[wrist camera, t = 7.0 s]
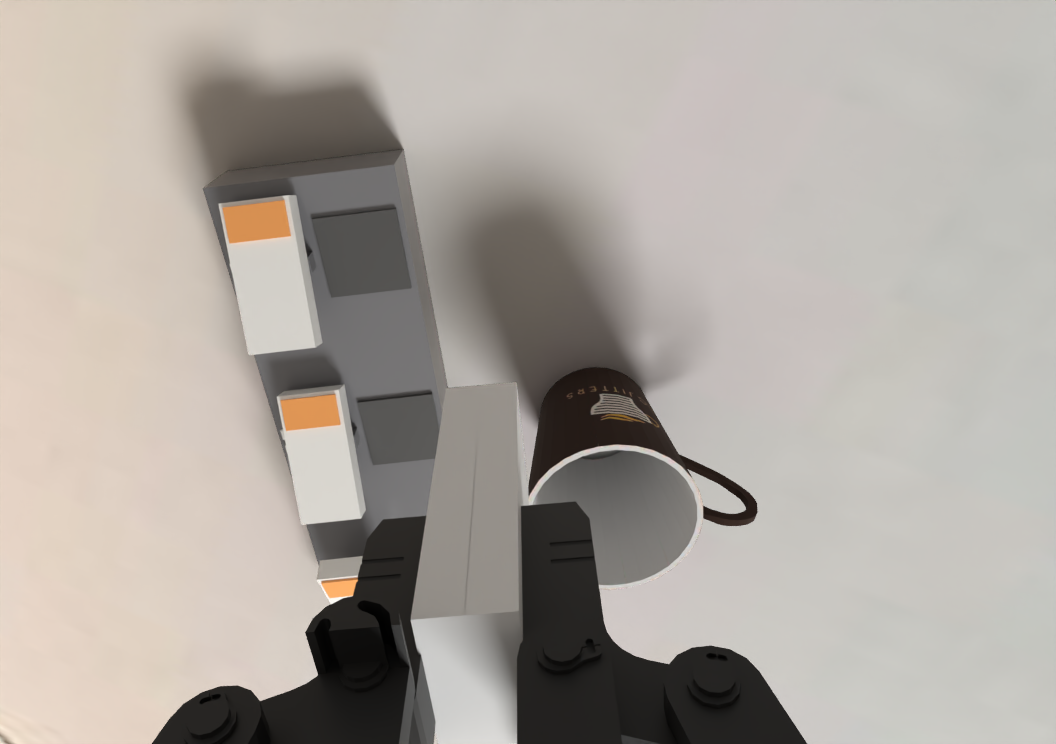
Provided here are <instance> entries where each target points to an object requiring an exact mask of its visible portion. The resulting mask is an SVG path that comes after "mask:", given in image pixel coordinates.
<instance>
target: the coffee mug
mask: <svg viewBox="0 0 1056 744" xmlns="http://www.w3.org/2000/svg"><path fill="white" fill-rule="evenodd" d="M687 469H689V470H691V471H693V472H695V473H697V474H700V475H702V476H704V477H706V478H708V479H710V480H712V481H714V482H716V483H718V484H720V485H721V486H723V487H724V488H726V489H727V490H728V491H730V492H731V493H733V494H734V495H736V496H737V497H738V498H739V499H740V500H741V501H742V502H743V503H744V505H745V507H746V510H745V511H744V512H741V513H738V514H726V513H721V512H718V511H715V510H711V509H709V508H707V507H705V506H703V503H702V499H701V495H700V491H699V489H698V487H697V486H696V484H695V482H694V480H693V478H692V477H691V475H690V473H689V471H688V470H687ZM528 495H529V505H538V504H550V503H562V502H574V501H576V502H577V504H578V505H579V506H580V507H581V509H582V510H583V511H584V512H585V514H586V515H587V516H588V517H589V519H590V526H591V533H592V541H593V548H594V555H595V562H596V569H597V577H598V584H599V589H604V590H613V589H624V588H630V587H634V586H638V585H642V584H645V583H647V582H649V581H652V580H654V579H657V578H659V577H660V576H662V575H664V574H665V573H667V572H669V571H670V570H672V569H673V568H674V567H675V566H676V565H678V564H679V563H680V562H681V561H682V560H683V559H684V558H685V557H686V556H687V554H688V553H689V552H690V550H691V549H692V548H693V547H694V544H695V542H696V540H697V538H698V536H699V534H700V531H701V527H702V523H703V518H704V519H706V520H709V521H712V522H714V523H717V524H720V525H725V526H741V525H746V524H749V523H751V522H753V521H754V519H755V517H756V514H757V503H756V501H755V499H754V498H753V497H752V495H751V494H750V493H749V492H747V491H746V490H745V489H743V488H742V487H741V486H739V485H738V484H736V483H735V482H733V481H731V480H730V479H728V478H726V477H725V476H723V475H721V474H720V473H718V472H716V471H714V470H712V469H710V468H707V467H705V466H703V465H701V464H699V463H697V462H695V461H693V460H690V459H688V458H686V457H684V456H681V455H679V454H678V452H677V451H676V449H675V447H674V446H673V444H672V442H671V440H670V439H669V437H668V435H667V433H666V432H665V430H664V428H663V427H662V425H661V423H660V421H659V420H658V418H657V416H656V415H655V413H654V411H653V409H652V408H651V406H650V404H649V402H648V401H647V399H646V397H645V396H644V394H643V392H642V390H641V389H640V387H639V386H638V385H637V384H636V383H635V382H634V381H633V380H632V379H630V378H629V377H628V376H626V375H624V374H622V373H620V372H618V371H615V370H611V369H607V368H586V369H582V370H578V371H575V372H573V373H571V374H568V375H566V376H565V377H563V378H562V379H560V380H559V381H558V382H556V383H555V385H554V386H553V387H552V388H551V389H550V390H549V392H548V393H547V395H546V396H545V398H544V401H543V404H542V407H541V412H540V418H539V424H538V431H537V437H536V443H535V449H534V455H533V461H532V467H531V474H530V480H529V486H528Z"/></svg>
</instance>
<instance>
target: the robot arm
mask: <svg viewBox="0 0 1056 744" xmlns="http://www.w3.org/2000/svg"><path fill="white" fill-rule="evenodd" d="M357 578H358V582H356V585H355V589H354V593H353V596H351V597H347V598H343V599H341V600H339V601H337V602H335V603H333V604H331V605H329V606H327V607H325V608H324V609H323V610H322V611H321V612H320V613H319V614H318V615H317V616H315V617H314V618H313V620H312V621H311V623H310V625H309V627H308V629H307V631H306V632H305V633H306V636H307V640H308V643H309V646H310V649H311V653H312V656H313V659H314V662H315V666H316V669H317V672H318V676H317V677H316V678H314V679H313V680H311V681H310V682H308V683H307V684H305V685H302V686H300V687H298V688H296V689H293V690H291V691H288V692H285V693H283V694H280V695H277V696H274V697H271V698H268V699H265V700H263V701H259V699H258V698H257V697H256V696H255V695H254V693H253V692H252V691H251V690H248V689H245V688H243V687H240V686H220V687H217V688H214V689H211V690H208V691H205V692H202V693H200V694H199V695H197V696H195V697H194V698H192V699H191V700H189V701H188V702H186V703H185V704H183V705H182V706H181V707H180V708H179V709H178V710H177V712H176V713H175V714H174V715H173V716H172V717H171V718H170V719H169V720H168V722H167V723H166V725H165V726H164V727H163V729H162V730H161V732H160V733H159V734H158V736H157V737H156V739H155V740H154V741H153V743H152V744H433V743H434V733H435V734H436V739H437V743H438V744H807V743H806V741H805V740H804V738H803V737H802V735H801V734H800V732H799V731H798V729H797V728H796V726H795V725H794V723H793V722H792V720H791V719H790V717H789V716H788V714H787V713H786V711H785V710H784V708H783V707H782V705H781V704H780V702H779V701H778V699H777V698H776V696H775V695H774V693H773V692H772V690H771V688H770V687H769V685H768V684H767V682H766V681H765V679H764V678H763V676H762V675H761V673H760V672H759V671H758V670H757V669H756V668H755V666H754V665H753V664H752V663H751V662H750V661H749V660H748V659H747V658H745V657H743V656H741V655H739V654H738V653H736V652H734V651H732V650H730V649H725V648H720V647H715V646H704V647H695V648H691V649H689V650H687V651H685V652H683V653H681V654H678V655H677V656H676V657H675V658H674V659H673V661H672V662H671V663H670V664H665V663H660V662H655V661H650V660H646V659H643V658H639V657H636V656H634V655H632V654H630V653H628V652H626V651H624V650H623V649H621V648H620V647H619V646H618V645H617V644H616V643H615V642H613V640H612V639H611V637H610V636H609V634H608V633H607V631H606V628H605V624H604V621H603V613H602V606H601V599H600V591H599V584H598V577H597V569H596V562H595V555H594V548H593V541H592V533H591V526H590V519H589V517H588V516H587V515H586V514H585V512H584V511H583V510H582V509H581V507H580V506H579V505H578V504H577V502H576V501H574V502H562V503H550V504H538V505H529V495H528V480H527V471H526V462H525V453H524V444H523V435H522V426H521V417H520V408H519V399H518V390H517V382H511V383H499V384H488V385H477V386H465V387H454V388H446V392H445V399H444V405H443V412H442V418H441V425H440V431H439V438H438V444H437V451H436V457H435V464H434V470H433V477H432V483H431V490H430V496H429V503H428V509H427V516H417V517H405V518H393V519H383V520H382V521H381V522H380V524H379V525H378V526H377V527H376V529H375V530H374V531H373V532H372V534H371V535H370V536H369V537H368V538H367V541H366V545H365V549H364V553H363V557H362V564H361V565H360V569H359V573H358V577H357Z"/></svg>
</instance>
